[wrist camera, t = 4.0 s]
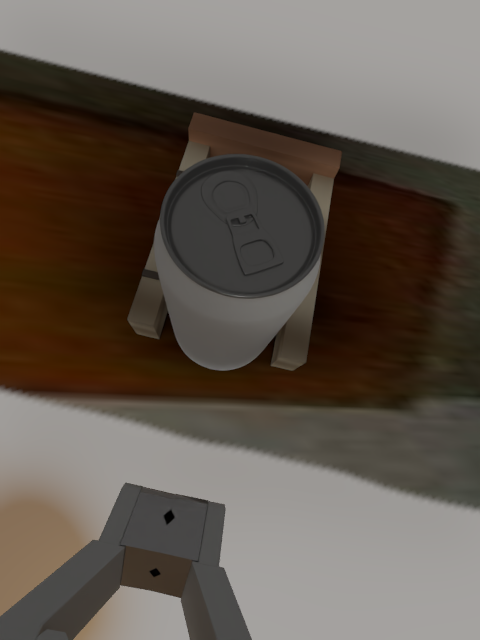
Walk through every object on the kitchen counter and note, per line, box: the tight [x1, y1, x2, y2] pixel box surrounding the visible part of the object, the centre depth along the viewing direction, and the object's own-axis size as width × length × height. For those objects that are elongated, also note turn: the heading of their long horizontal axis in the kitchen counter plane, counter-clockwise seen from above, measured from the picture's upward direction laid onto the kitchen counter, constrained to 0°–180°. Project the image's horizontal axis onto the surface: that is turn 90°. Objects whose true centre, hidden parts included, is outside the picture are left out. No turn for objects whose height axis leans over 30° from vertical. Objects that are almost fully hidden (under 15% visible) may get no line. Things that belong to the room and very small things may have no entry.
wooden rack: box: [127, 112, 342, 371], centre depth 22 cm, size 15×10×4 cm
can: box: [154, 154, 325, 370], centre depth 17 cm, size 6×6×12 cm
